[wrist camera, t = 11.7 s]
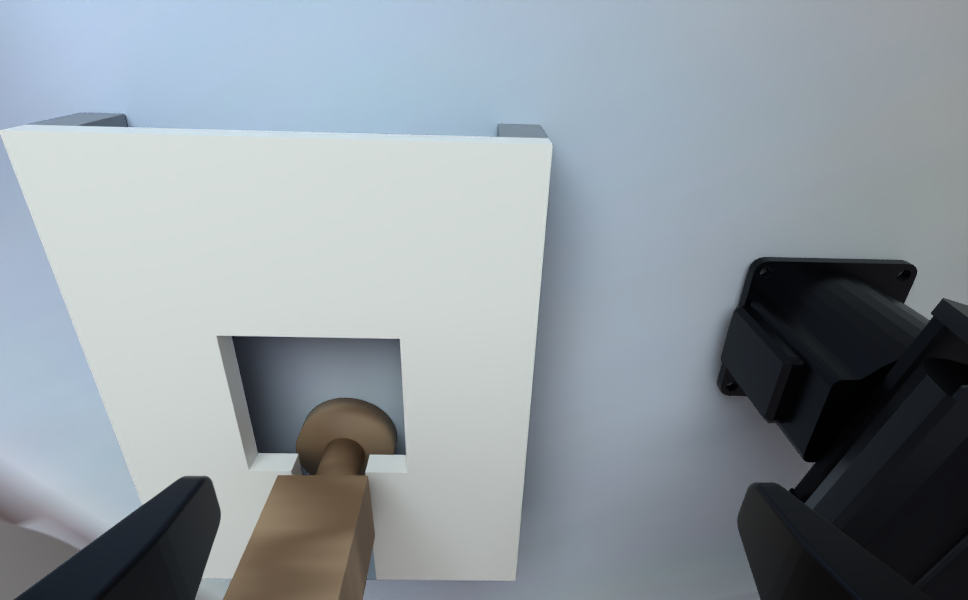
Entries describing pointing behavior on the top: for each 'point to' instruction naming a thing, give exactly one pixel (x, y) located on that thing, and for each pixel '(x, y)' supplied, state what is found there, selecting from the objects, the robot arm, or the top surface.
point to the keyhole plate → (306, 308)
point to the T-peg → (319, 511)
